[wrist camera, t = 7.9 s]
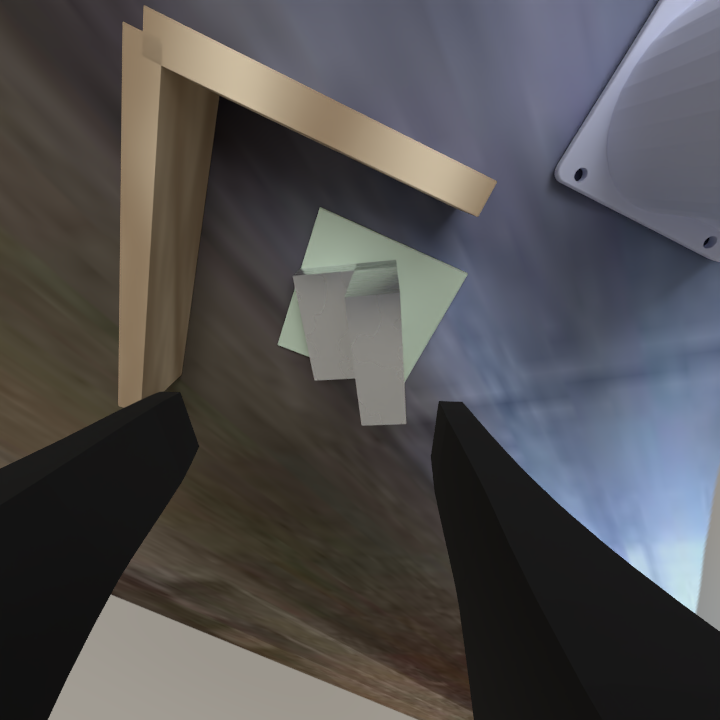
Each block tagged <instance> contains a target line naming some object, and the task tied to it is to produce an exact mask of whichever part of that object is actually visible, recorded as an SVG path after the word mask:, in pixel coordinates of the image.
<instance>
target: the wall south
mask: <svg viewBox="0 0 720 720" xmlns="http://www.w3.org/2000/svg"><path fill="white" fill-rule="evenodd" d="M143 32H145V33H147V34H149V35H151V36H153V37H155V38H157V39H159V40H161V41H163V44H162V54H161V55H162V60H161V66H163V67H165V68H167V69H169V70H171V71H173V72H175V73H177V74H179V75H181V76H183V77H184V78H186V79H188V80H190V81H192V82H194V83H196V84H198V85H200V86H202V87H204V88H206V89H208V90H210V91H211V92H213V93H215V94H217V95H219V96H221V97H223V98H225V99H228V100H230V101H232V102H234V103H236V104H238V105H240V106H242V107H244V108H246V109H249V110H251V111H253V112H255V113H257V114H259V115H261V116H263V117H265V118H267V119H269V120H272V121H274V122H276V123H278V124H280V125H282V126H284V127H286V128H288V129H290V130H293V131H295V132H297V133H299V134H301V135H303V136H305V137H307V138H309V139H311V140H313V141H316V142H318V143H320V144H322V145H324V146H326V147H328V148H330V149H332V150H334V151H337V152H339V153H341V154H343V155H345V156H347V157H349V158H351V159H353V160H355V161H357V162H360V163H362V164H364V165H366V166H368V167H370V168H372V169H374V170H376V171H378V172H381V173H383V174H385V175H387V176H389V177H391V178H393V179H395V180H397V181H399V182H402V183H404V184H406V185H408V186H410V187H412V188H414V189H416V190H418V191H420V192H422V193H425V194H427V195H429V196H431V197H433V198H435V199H437V200H439V201H441V202H443V203H446V204H448V205H450V206H452V207H454V208H456V209H458V210H461V211H464V212H466V213H469V214H472V215H474V216H477V217H478V216H479V214H480V212H481V210H482V209H483V207H484V205H485V203H486V201H487V200H488V198H489V196H490V194H491V192H492V190H493V189H494V187H495V185H496V183H497V181H495V180H493V179H491V178H489V177H487V176H485V175H483V174H481V173H479V172H477V171H475V170H473V169H471V168H469V167H467V166H465V165H463V164H461V163H459V162H457V161H455V160H453V159H451V158H449V157H447V156H445V155H443V154H441V153H439V152H437V151H435V150H433V149H431V148H429V147H427V146H425V145H423V144H421V143H419V142H417V141H415V140H413V139H411V138H409V137H407V136H405V135H403V134H401V133H399V132H397V131H395V130H393V129H391V128H389V127H387V126H385V125H383V124H381V123H379V122H377V121H375V120H373V119H371V118H369V117H367V116H365V115H363V114H361V113H359V112H357V111H355V110H353V109H351V108H349V107H347V106H345V105H343V104H341V103H339V102H337V101H335V100H333V99H331V98H329V97H327V96H325V95H323V94H321V93H319V92H317V91H315V90H313V89H311V88H309V87H307V86H305V85H303V84H301V83H299V82H297V81H295V80H293V79H291V78H289V77H287V76H285V75H283V74H281V73H279V72H277V71H275V70H273V69H271V68H269V67H267V66H265V65H263V64H261V63H259V62H257V61H255V60H253V59H251V58H249V57H247V56H245V55H243V54H241V53H239V52H237V51H235V50H233V49H231V48H229V47H227V46H225V45H223V44H221V43H219V42H217V41H215V40H213V39H211V38H209V37H207V36H205V35H203V34H201V33H199V32H197V31H195V30H193V29H191V28H189V27H187V26H185V25H183V24H181V23H179V22H177V21H175V20H173V19H171V18H169V17H167V16H165V15H163V14H161V13H159V12H157V11H155V10H153V9H151V8H148V7H146V6H144V13H143ZM143 37H144V36H143ZM147 42H148V41H147ZM149 45H150V44H149ZM149 45H148V46H149ZM155 45H156V44H155ZM143 47H144V46H143ZM155 49H156V48H155ZM158 49H159V48H158ZM158 52H159V50H158ZM153 53H154V52H153ZM153 55H154V54H153ZM143 57H144V56H143ZM146 58H147V57H146ZM148 58H149V57H148ZM148 58H147V59H148ZM158 58H159V57H158ZM160 58H161V57H160ZM152 59H153V58H152Z"/></svg>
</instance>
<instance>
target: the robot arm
mask: <svg viewBox="0 0 720 720" xmlns="http://www.w3.org/2000/svg"><path fill="white" fill-rule="evenodd" d="M580 168H581V169H582V171H583V175H582V177H581V179H580V180H579V181H576V180H575V179H574V175H575V173H576V171H577V170H578V169H580ZM555 178H556V180H557V181H558V182H560V183H562V184H564V185H565V186H567V187H569V188H571V189H573V190H575V191H577V192H579V193H581V194H583V195H585V196H587V197H589V198H591V199H593V200H595V201H597V202H599V203H601V204H602V205H604V206H606V207H608V208H610V209H612V210H614V211H616V212H618V213H620V214H622V215H624V216H626V217H628V218H630V219H632V220H634V221H636V222H638V223H640V224H641V225H643V226H645V227H647V228H649V229H651V230H653V231H655V232H657V233H659V234H661V235H663V236H665V237H667V238H669V239H671V240H673V241H675V242H677V243H678V244H680V245H682V246H684V247H686V248H688V249H690V250H692V251H694V252H696V253H698V254H700V255H702V256H704V257H706V258H708V259H710V260H713V261H717V262H720V0H659V2H658V3H657V5H656V6H655V8H654V10H653V11H652V13H651V15H650V16H649V18H648V19H647V21H646V23H645V24H644V26H643V27H642V29H641V31H640V32H639V34H638V35H637V37H636V39H635V40H634V42H633V44H632V45H631V47H630V48H629V50H628V52H627V53H626V55H625V56H624V58H623V60H622V61H621V63H620V64H619V66H618V68H617V69H616V71H615V73H614V74H613V76H612V77H611V79H610V81H609V82H608V84H607V85H606V87H605V89H604V90H603V92H602V93H601V95H600V97H599V98H598V100H597V102H596V103H595V105H594V106H593V108H592V110H591V111H590V113H589V114H588V116H587V118H586V119H585V121H584V123H583V124H582V126H581V127H580V129H579V131H578V132H577V134H576V135H575V137H574V139H573V140H572V142H571V143H570V145H569V147H568V148H567V150H566V152H565V153H564V155H563V156H562V158H561V160H560V161H559V163H558V164H557V167H556V169H555ZM707 238H709V241H708V243H707V244H706V245H704V246H703V244H704V242H705V240H706V239H707ZM198 447H199V445H198V442H197V439H196V436H195V433H194V430H193V427H192V425H191V422H190V419H189V416H188V413H187V410H186V407H185V405H184V402H183V399H182V396H181V393H180V392H158V393H155V394H153V395H150V396H148V397H146V398H144V399H141V400H139V401H137V402H135V403H133V404H131V405H129V406H127V407H125V408H123V409H121V410H119V411H117V412H115V413H113V414H111V415H109V416H107V417H105V418H103V419H101V420H99V421H97V422H95V423H93V424H91V425H89V426H87V427H85V428H83V429H81V430H79V431H77V432H75V433H73V434H71V435H69V436H67V437H65V438H63V439H61V440H59V441H57V442H55V443H53V444H51V445H49V446H47V447H45V448H43V449H41V450H38V451H36V452H34V453H32V454H30V455H28V456H26V457H24V458H22V459H20V460H18V461H16V462H13V463H11V464H9V465H7V466H5V467H3V468H1V469H0V720H48V718H49V716H50V714H51V711H52V709H53V707H54V705H55V703H56V701H57V699H58V696H59V694H60V692H61V690H62V688H63V686H64V684H65V681H66V679H67V677H68V675H69V673H70V671H71V669H72V667H73V665H74V664H75V662H76V660H77V658H78V656H79V654H80V652H81V650H82V648H83V646H84V643H85V642H86V640H87V638H88V636H89V634H90V632H91V630H92V628H93V626H94V624H95V622H96V620H97V618H98V617H99V615H100V613H101V611H102V609H103V608H104V606H105V604H106V602H107V600H108V598H109V596H110V595H111V593H112V591H113V589H114V587H115V585H116V584H117V582H118V580H119V578H120V577H121V575H122V573H123V572H124V570H125V568H126V567H127V565H128V564H129V562H130V560H131V559H132V557H133V556H134V554H135V553H136V551H137V550H138V548H139V547H140V545H141V544H142V542H143V540H144V539H145V537H146V536H147V534H148V533H149V531H150V530H151V528H152V527H153V525H154V524H155V522H156V521H157V519H158V518H159V516H160V515H161V513H162V512H163V510H164V509H165V507H166V506H167V504H168V502H169V501H170V499H171V498H172V496H173V495H174V493H175V492H176V490H177V488H178V487H179V485H180V484H181V482H182V480H183V479H184V477H185V475H186V473H187V471H188V469H189V467H190V465H191V463H192V461H193V458H194V456H195V454H196V452H197V450H198ZM431 461H432V471H433V481H434V490H435V496H436V500H437V505H438V509H439V514H440V519H441V523H442V528H443V532H444V537H445V541H446V546H447V550H448V555H449V559H450V564H451V568H452V573H453V577H454V581H455V587H456V592H457V597H458V603H459V609H460V616H461V624H462V631H463V638H464V646H465V653H466V660H467V668H468V676H469V684H470V692H471V700H472V708H473V715H474V720H720V631H718V630H717V629H715V628H714V627H713V626H711V625H710V624H708V623H707V622H706V621H704V620H703V619H702V618H700V617H699V616H698V615H696V614H695V613H693V612H692V611H691V610H689V609H688V608H687V607H685V606H684V605H683V604H681V603H680V602H679V601H677V600H676V599H675V598H673V597H672V596H671V595H669V594H668V593H667V592H666V591H664V590H663V589H662V588H660V587H659V586H658V585H656V584H655V583H654V582H653V581H651V580H650V579H649V578H647V577H646V576H645V575H643V574H642V573H641V572H639V571H638V570H637V569H636V568H634V567H633V566H632V565H630V564H629V563H628V562H627V561H625V560H624V559H623V558H622V557H620V556H619V555H618V554H617V553H615V552H614V551H613V550H612V549H610V548H609V547H608V546H607V545H606V544H604V543H603V542H602V541H601V540H600V539H599V538H597V537H596V536H595V535H594V534H593V533H592V532H590V531H589V530H588V529H587V528H586V527H585V526H583V525H582V524H581V523H580V522H579V521H577V520H576V519H575V518H574V517H573V516H572V515H570V514H569V513H568V512H567V511H566V510H565V509H564V508H563V507H562V506H560V505H559V504H558V503H557V502H556V501H555V500H554V499H553V498H552V497H551V496H550V495H549V494H548V493H547V492H546V491H545V490H543V489H542V488H541V487H540V486H539V485H538V484H537V483H536V482H535V481H534V480H533V479H532V478H531V477H530V476H529V475H528V474H527V473H526V472H525V471H524V470H523V469H522V468H521V467H520V466H519V465H518V464H517V463H516V462H515V460H514V459H513V458H512V457H511V456H510V455H509V454H508V453H507V452H506V451H505V450H504V449H503V448H502V447H501V446H500V444H499V443H498V442H497V441H496V440H495V439H494V438H493V437H492V436H491V434H490V433H489V432H488V431H487V430H486V429H485V428H484V426H483V425H482V424H481V423H480V422H479V421H478V420H477V418H476V417H475V416H474V415H473V414H472V413H471V411H470V410H469V409H468V408H467V407H466V406H465V405H464V404H463V402H447V401H439V404H438V411H437V418H436V425H435V432H434V439H433V446H432V454H431Z"/></svg>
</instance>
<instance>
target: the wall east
mask: <svg viewBox="0 0 720 720" xmlns="http://www.w3.org/2000/svg"><path fill="white" fill-rule="evenodd" d="M143 36H144V37H143ZM147 41H148V42H147ZM149 44H150V45H149ZM155 44H156V45H155ZM162 44H163V41H161V40H159V39H157V38H155V37H153V36H151V35H149V34H147V33H145V32H143V31H141V30H139V29H137V28H135V27H133V26H131V25H129V24H127V23H124V22H123V42H122V130H121V217H120V305H119V392H118V406H121V407H124V408H125V407H127V406H129V405H131V404H133V403H135V402H137V401H139V400H141V399H144V398H146V397H148V396H150V395H153V394H155V393H158V392H164V391H165V390H166V389H167V388H168V387H169V386H170V385H171V384H172V383H173V382H174V381H175V380H176V379H178V378H179V377H180V376H181V375H182V369H183V361H184V354H185V347H186V339H187V332H188V324H189V317H190V310H191V302H192V295H193V288H194V280H195V273H196V266H197V258H198V251H199V243H200V236H201V229H202V221H203V214H204V207H205V199H206V192H207V185H208V177H209V170H210V162H211V155H212V148H213V140H214V133H215V126H216V118H217V111H218V104H219V95H217V94H215V93H213V92H211V91H210V90H208V89H206V88H204V87H202V86H200V85H198V84H196V83H194V82H192V81H190V80H188V79H186V78H184V77H183V76H181V75H179V74H177V73H175V72H173V71H171V70H169V69H167V68H165V67H163V66H161V60H162V55H161V54H162ZM148 45H149V46H148ZM143 46H144V47H143ZM155 48H156V49H155ZM158 48H159V49H158ZM158 50H159V52H158ZM153 52H154V53H153ZM153 54H154V55H153ZM143 56H144V57H143ZM146 57H147V58H148V57H149V58H148V59H147V58H146ZM158 57H159V58H158ZM160 57H161V58H160ZM152 58H153V59H152Z"/></svg>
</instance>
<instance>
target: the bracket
mask: <svg viewBox="0 0 720 720" xmlns="http://www.w3.org/2000/svg"><path fill="white" fill-rule="evenodd" d="M293 281H294V285H295V290H296V295H297V300H298V304H299V309H300V314H301V319H302V323H303V328H304V333H305V338H306V342H307V347H308V352H309V357H310V361H311V366H312V371H313V376H314V380H334V379H353V378H355V380H356V388H357V395H358V402H359V410H360V417H361V424H362V425H392V424H406V408H405V387H404V365H403V344H402V322H401V301H400V288H399V280H398V272H397V264H396V260H387V261H376V262H366V263H355V264H344V265H334V266H323V267H313V268H302V269H299V270H298V271H297V272H296V273H295V274H294V275H293Z"/></svg>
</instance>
